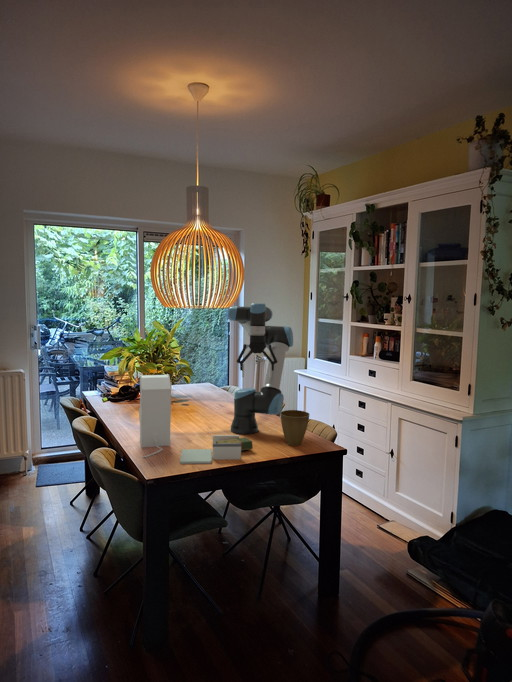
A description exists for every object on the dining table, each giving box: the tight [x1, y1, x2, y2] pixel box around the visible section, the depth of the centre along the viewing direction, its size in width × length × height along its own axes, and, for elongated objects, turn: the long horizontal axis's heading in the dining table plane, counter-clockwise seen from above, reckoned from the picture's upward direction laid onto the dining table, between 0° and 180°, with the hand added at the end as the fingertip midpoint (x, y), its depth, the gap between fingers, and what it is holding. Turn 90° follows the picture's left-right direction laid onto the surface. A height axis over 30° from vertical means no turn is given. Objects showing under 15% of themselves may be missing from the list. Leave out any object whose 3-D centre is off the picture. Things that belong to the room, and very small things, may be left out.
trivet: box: [179, 448, 213, 465], centre depth 231 cm, size 18×14×1 cm
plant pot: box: [279, 409, 310, 447], centre depth 254 cm, size 15×15×16 cm
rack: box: [212, 434, 242, 461], centre depth 238 cm, size 19×13×7 cm
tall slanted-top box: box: [138, 373, 172, 459], centre depth 244 cm, size 14×35×35 cm, turn 16°
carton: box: [216, 437, 254, 452], centre depth 241 cm, size 8×16×4 cm, turn 117°
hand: (256, 377), depth 248 cm, fingers open, 13 cm apart
